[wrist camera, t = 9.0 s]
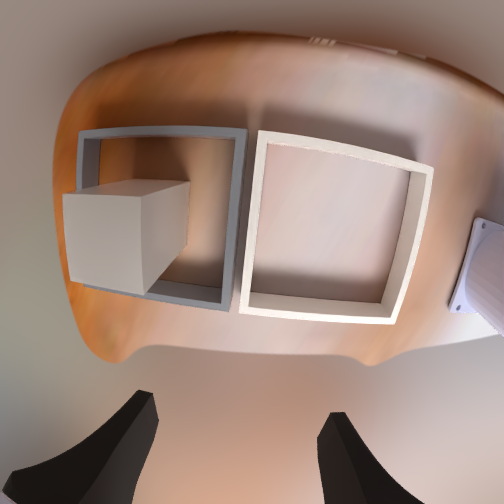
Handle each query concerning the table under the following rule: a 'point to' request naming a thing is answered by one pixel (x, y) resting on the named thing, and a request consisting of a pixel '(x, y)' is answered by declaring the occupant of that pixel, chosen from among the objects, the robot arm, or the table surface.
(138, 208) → the white rectangular block
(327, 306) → the bin
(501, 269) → the robot arm
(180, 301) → the bin
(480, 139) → the table surface
